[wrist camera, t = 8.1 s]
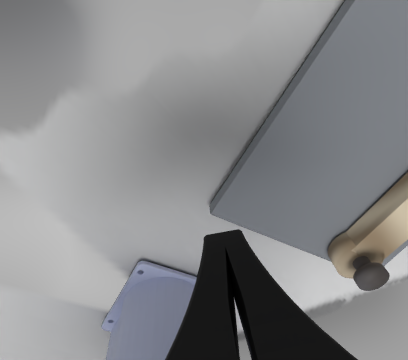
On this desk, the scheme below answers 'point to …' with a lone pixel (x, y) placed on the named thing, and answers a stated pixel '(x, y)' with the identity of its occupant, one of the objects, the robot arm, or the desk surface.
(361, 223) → the tan latch lever
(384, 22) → the base plate
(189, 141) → the desk surface
